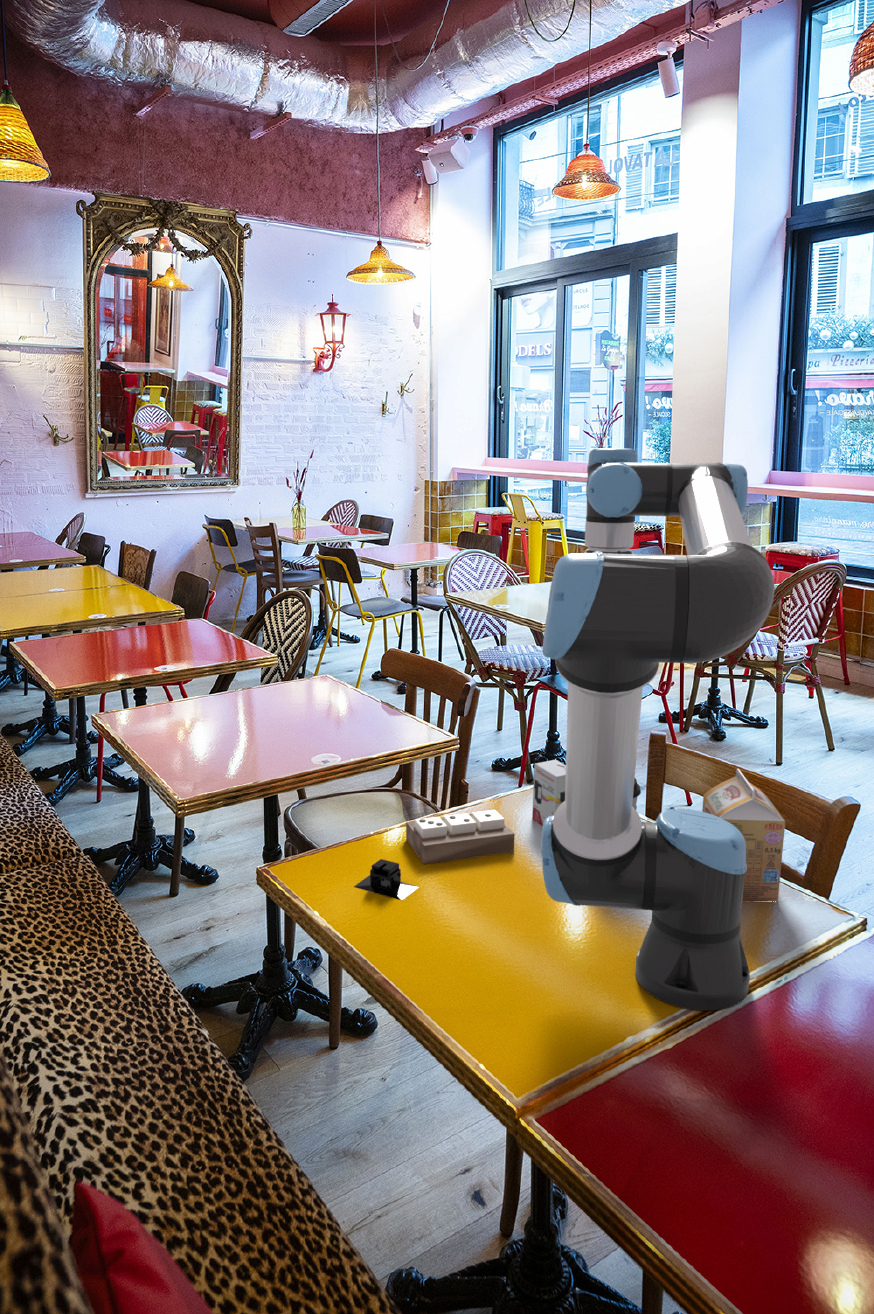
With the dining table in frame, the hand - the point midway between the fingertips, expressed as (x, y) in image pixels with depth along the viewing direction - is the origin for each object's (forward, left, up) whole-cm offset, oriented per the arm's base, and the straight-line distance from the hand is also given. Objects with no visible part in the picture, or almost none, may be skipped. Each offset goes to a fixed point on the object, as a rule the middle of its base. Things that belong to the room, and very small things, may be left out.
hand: (602, 694), depth 154 cm
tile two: (+19, +17, -32) cm, 41 cm away
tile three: (+19, +23, -32) cm, 44 cm away
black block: (+8, +34, -33) cm, 48 cm away
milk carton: (-10, -21, -33) cm, 40 cm away
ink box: (+23, -3, -33) cm, 40 cm away
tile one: (+19, +12, -32) cm, 39 cm away
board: (+19, +17, -32) cm, 41 cm away
